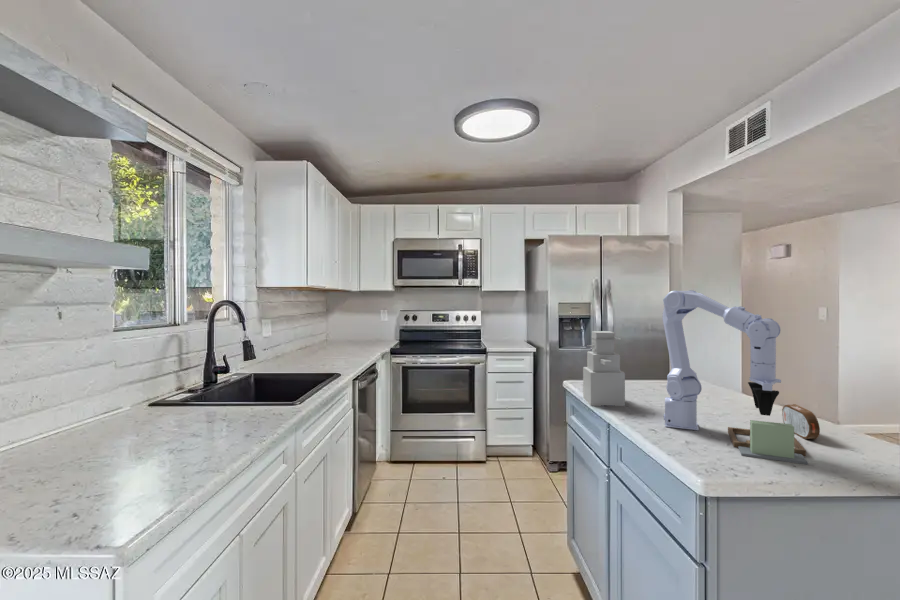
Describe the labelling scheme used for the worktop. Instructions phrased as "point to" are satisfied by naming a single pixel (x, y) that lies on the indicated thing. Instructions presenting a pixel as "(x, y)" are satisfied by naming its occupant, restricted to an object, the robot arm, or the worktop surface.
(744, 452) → the slate mat
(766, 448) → the board
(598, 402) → the stacked tiered boxes
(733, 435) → the brown flat square frame
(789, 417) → the tin
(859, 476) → the worktop surface
